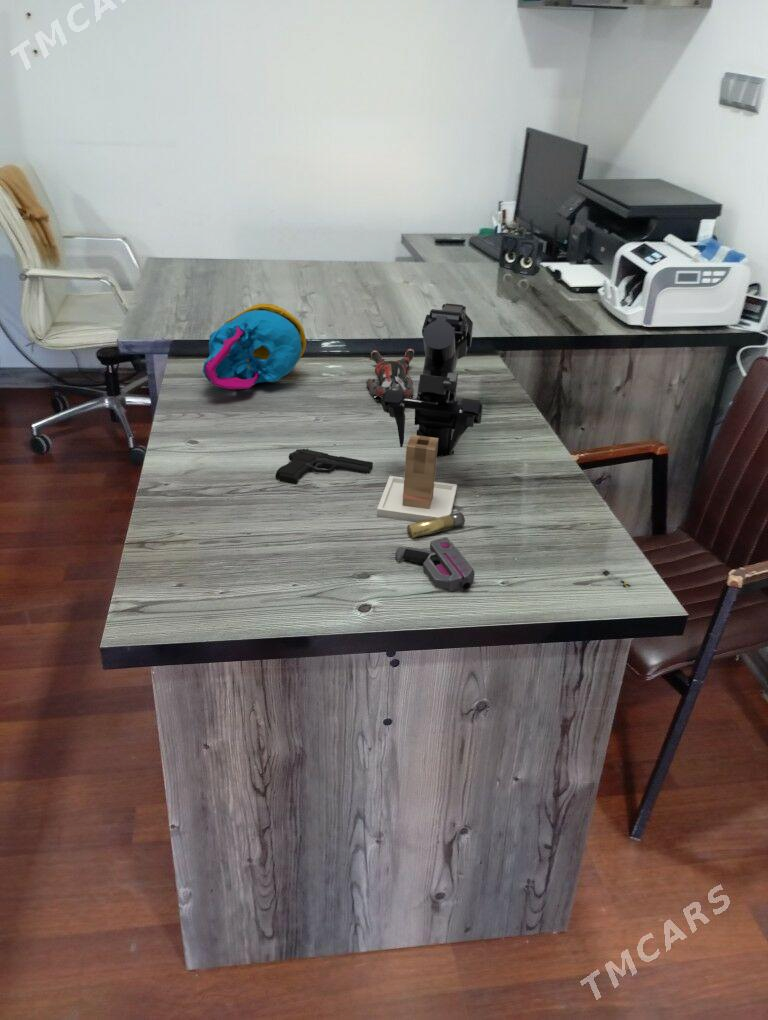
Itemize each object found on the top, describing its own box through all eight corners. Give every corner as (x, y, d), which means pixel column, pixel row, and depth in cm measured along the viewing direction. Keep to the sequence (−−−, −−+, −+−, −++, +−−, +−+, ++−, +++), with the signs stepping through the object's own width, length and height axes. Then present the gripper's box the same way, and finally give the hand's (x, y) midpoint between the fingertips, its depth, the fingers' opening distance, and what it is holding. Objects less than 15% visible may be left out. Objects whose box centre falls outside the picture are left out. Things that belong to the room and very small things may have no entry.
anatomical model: (217, 416, 187) (213, 385, 209) (323, 382, 189) (308, 355, 211) (190, 342, 179) (189, 318, 201) (300, 308, 181) (287, 288, 204)
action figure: (419, 353, 213) (432, 393, 186) (393, 387, 216) (402, 431, 190) (387, 329, 209) (395, 367, 183) (361, 364, 213) (365, 406, 187)
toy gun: (423, 607, 129) (481, 590, 132) (423, 590, 128) (481, 573, 130) (390, 558, 140) (444, 544, 143) (389, 542, 138) (444, 528, 141)
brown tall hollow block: (406, 492, 156) (410, 434, 150) (433, 496, 156) (438, 438, 150) (401, 505, 152) (406, 446, 146) (429, 509, 151) (435, 450, 145)
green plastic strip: (635, 584, 135) (627, 589, 134) (634, 587, 135) (626, 592, 134) (604, 566, 139) (596, 570, 138) (603, 569, 139) (595, 573, 138)
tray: (389, 482, 161) (389, 475, 160) (456, 491, 159) (457, 484, 158) (376, 516, 150) (377, 509, 149) (448, 526, 148) (449, 519, 147)
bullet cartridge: (456, 521, 149) (458, 509, 148) (464, 527, 148) (465, 516, 146) (406, 533, 145) (407, 522, 144) (413, 540, 143) (414, 528, 142)
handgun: (359, 488, 155) (374, 457, 165) (273, 471, 158) (293, 442, 167) (358, 501, 157) (373, 469, 167) (273, 484, 159) (292, 454, 169)
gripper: (385, 348, 152) (371, 428, 148) (488, 360, 149) (476, 442, 146) (391, 372, 163) (377, 448, 159) (486, 384, 160) (475, 461, 157)
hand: (425, 449), depth 155 cm, fingers open, 9 cm apart
